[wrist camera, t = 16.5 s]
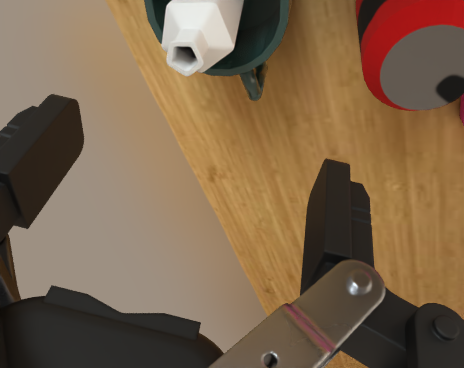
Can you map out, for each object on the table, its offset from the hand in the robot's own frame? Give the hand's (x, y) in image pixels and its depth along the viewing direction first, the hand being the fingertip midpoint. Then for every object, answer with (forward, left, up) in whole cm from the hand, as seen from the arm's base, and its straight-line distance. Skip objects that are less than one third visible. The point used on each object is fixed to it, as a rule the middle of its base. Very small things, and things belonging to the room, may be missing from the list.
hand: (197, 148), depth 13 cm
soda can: (-11, +2, -26) cm, 29 cm away
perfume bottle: (+3, +3, -26) cm, 26 cm away
